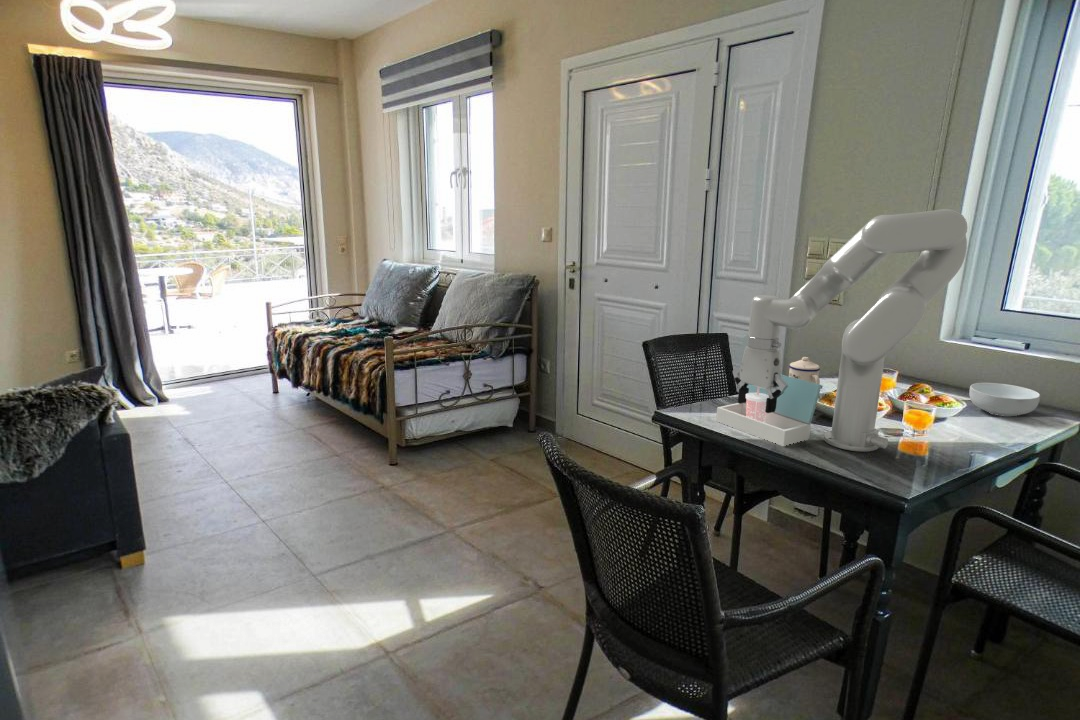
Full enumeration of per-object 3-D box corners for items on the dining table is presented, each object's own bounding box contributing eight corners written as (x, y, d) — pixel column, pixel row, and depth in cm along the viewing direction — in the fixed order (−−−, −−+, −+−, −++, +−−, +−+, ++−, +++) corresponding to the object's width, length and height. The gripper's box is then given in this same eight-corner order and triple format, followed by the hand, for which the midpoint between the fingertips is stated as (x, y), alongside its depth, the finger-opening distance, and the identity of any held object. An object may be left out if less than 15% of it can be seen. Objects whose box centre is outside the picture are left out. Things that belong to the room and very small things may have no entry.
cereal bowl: (963, 401, 199) (966, 379, 197) (1028, 409, 191) (1033, 386, 190) (970, 416, 184) (974, 393, 182) (1041, 426, 177) (1047, 401, 175)
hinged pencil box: (808, 439, 163) (810, 424, 163) (783, 446, 158) (784, 431, 157) (740, 415, 182) (742, 402, 181) (715, 421, 176) (717, 407, 176)
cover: (808, 424, 162) (811, 424, 163) (819, 384, 161) (822, 385, 162) (740, 401, 180) (743, 402, 181) (749, 366, 179) (753, 366, 180)
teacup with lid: (780, 389, 208) (784, 354, 206) (804, 388, 211) (808, 353, 208) (803, 400, 197) (808, 363, 194) (829, 398, 199) (833, 362, 197)
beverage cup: (767, 426, 173) (772, 376, 170) (765, 433, 168) (770, 381, 164) (744, 422, 176) (748, 373, 172) (741, 429, 170) (745, 378, 167)
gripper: (800, 348, 161) (793, 414, 165) (745, 336, 175) (740, 397, 179) (781, 351, 157) (773, 419, 161) (726, 338, 171) (721, 400, 176)
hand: (756, 407), depth 170 cm, fingers open, 8 cm apart
